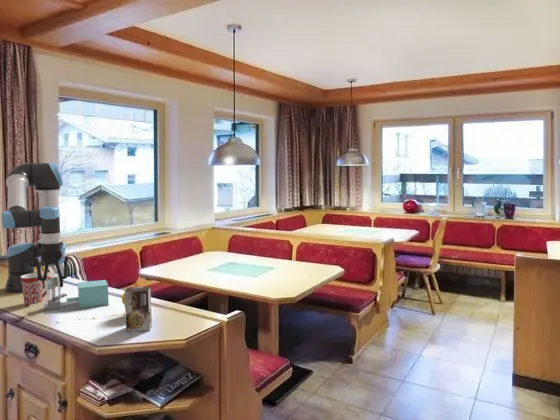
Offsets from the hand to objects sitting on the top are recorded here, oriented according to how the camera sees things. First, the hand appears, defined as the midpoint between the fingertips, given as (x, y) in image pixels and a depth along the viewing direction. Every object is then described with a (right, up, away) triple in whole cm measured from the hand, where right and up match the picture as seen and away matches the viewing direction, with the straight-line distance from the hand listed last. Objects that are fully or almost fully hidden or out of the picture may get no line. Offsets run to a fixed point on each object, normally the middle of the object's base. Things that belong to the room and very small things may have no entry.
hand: (53, 294), depth 199 cm
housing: (+8, -7, +5) cm, 11 cm away
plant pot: (+38, -8, -6) cm, 39 cm away
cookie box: (+44, -10, -21) cm, 50 cm away
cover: (+12, -5, +6) cm, 15 cm away
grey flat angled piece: (0, -2, +2) cm, 3 cm away
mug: (-13, -6, +11) cm, 18 cm away
